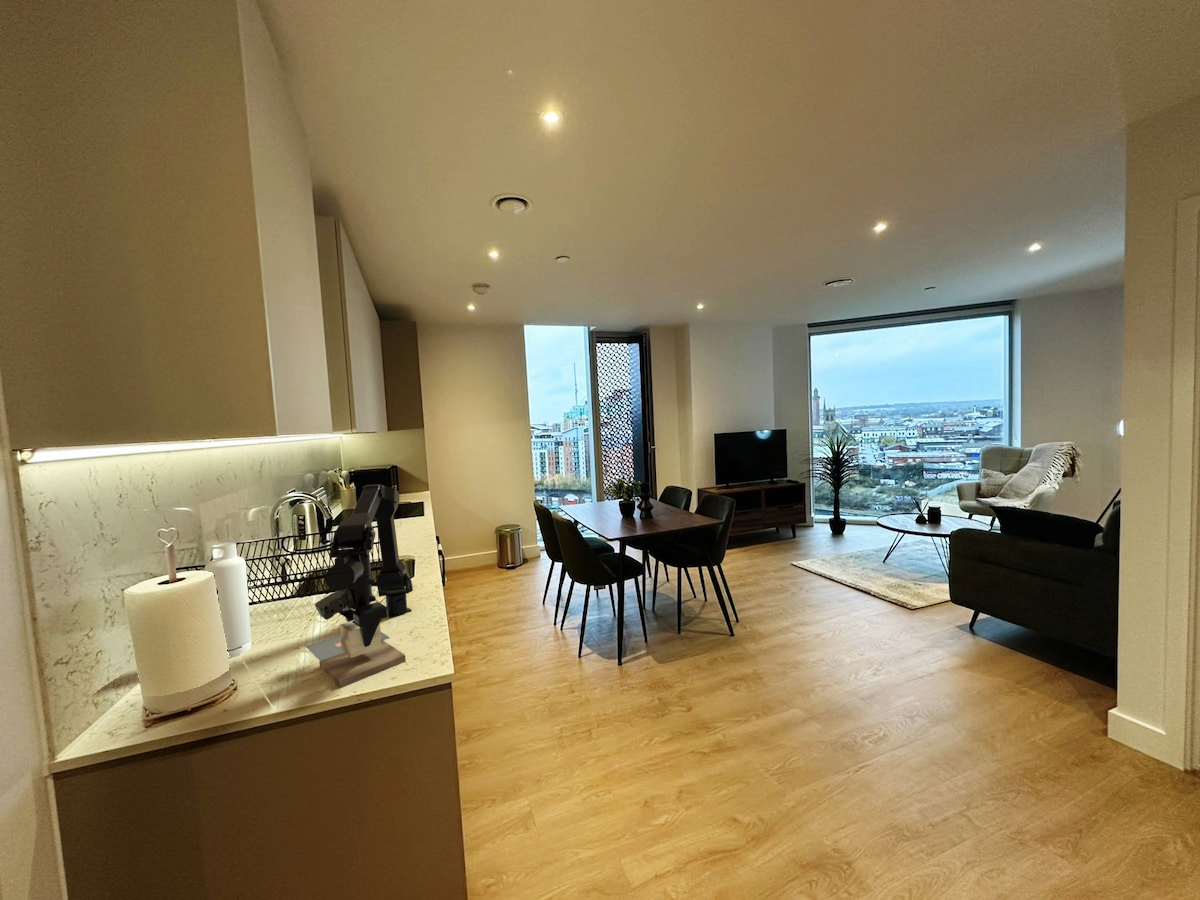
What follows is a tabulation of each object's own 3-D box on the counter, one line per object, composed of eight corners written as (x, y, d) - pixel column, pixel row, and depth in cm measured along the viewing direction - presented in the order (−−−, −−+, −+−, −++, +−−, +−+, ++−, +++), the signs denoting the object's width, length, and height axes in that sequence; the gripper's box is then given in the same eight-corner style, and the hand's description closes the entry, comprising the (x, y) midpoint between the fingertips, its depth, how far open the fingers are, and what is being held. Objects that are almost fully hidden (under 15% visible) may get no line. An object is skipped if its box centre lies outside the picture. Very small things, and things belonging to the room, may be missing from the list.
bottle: (259, 644, 118) (252, 540, 117) (234, 659, 110) (226, 547, 109) (229, 645, 118) (221, 541, 117) (202, 660, 110) (193, 549, 109)
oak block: (341, 649, 103) (339, 624, 103) (370, 639, 108) (369, 615, 108) (351, 658, 99) (349, 631, 99) (381, 646, 104) (379, 621, 104)
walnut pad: (319, 667, 103) (319, 661, 103) (381, 644, 114) (381, 639, 113) (340, 688, 94) (339, 681, 94) (405, 661, 104) (405, 655, 104)
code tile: (305, 646, 115) (304, 645, 115) (369, 625, 126) (369, 624, 126) (321, 663, 105) (321, 662, 105) (390, 638, 117) (390, 637, 117)
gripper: (305, 578, 103) (310, 644, 104) (331, 594, 91) (336, 669, 91) (356, 566, 112) (360, 627, 112) (387, 580, 99) (391, 648, 100)
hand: (361, 642), depth 104 cm, fingers closed on oak block, 6 cm apart
